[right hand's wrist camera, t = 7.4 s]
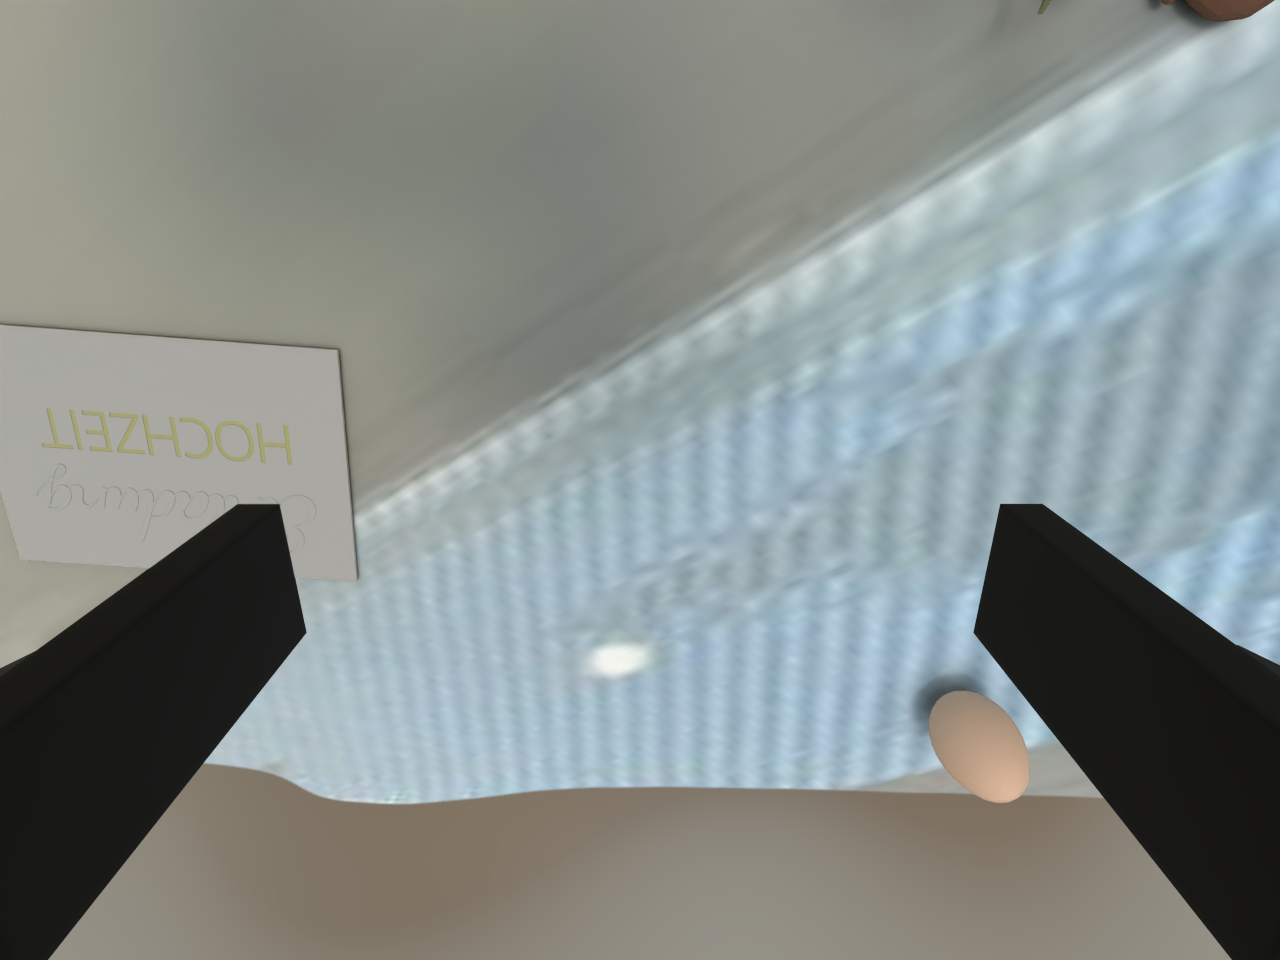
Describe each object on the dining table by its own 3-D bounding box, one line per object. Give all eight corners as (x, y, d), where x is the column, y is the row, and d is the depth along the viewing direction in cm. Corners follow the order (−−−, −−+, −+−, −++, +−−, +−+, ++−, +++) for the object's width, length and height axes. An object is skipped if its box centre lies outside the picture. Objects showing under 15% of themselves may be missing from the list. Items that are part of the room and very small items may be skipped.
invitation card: (336, 350, 39) (356, 582, 44) (338, 349, 39) (358, 580, 45) (-50, 321, 38) (18, 560, 44) (-45, 320, 38) (22, 558, 44)
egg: (927, 741, 49) (980, 839, 42) (902, 688, 48) (952, 780, 40) (998, 714, 48) (1066, 808, 41) (975, 659, 47) (1041, 746, 39)
